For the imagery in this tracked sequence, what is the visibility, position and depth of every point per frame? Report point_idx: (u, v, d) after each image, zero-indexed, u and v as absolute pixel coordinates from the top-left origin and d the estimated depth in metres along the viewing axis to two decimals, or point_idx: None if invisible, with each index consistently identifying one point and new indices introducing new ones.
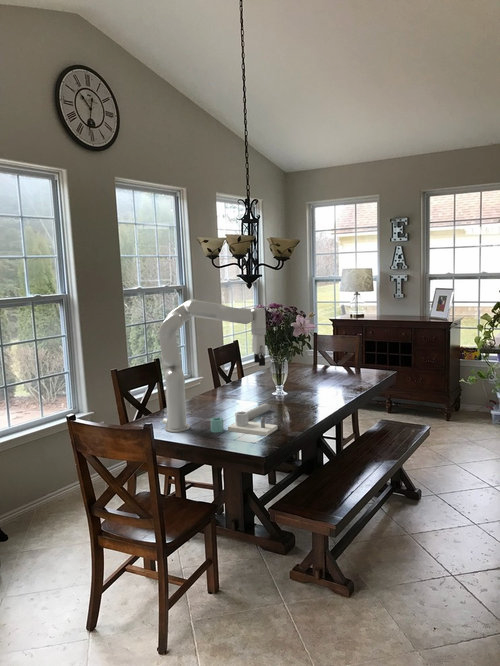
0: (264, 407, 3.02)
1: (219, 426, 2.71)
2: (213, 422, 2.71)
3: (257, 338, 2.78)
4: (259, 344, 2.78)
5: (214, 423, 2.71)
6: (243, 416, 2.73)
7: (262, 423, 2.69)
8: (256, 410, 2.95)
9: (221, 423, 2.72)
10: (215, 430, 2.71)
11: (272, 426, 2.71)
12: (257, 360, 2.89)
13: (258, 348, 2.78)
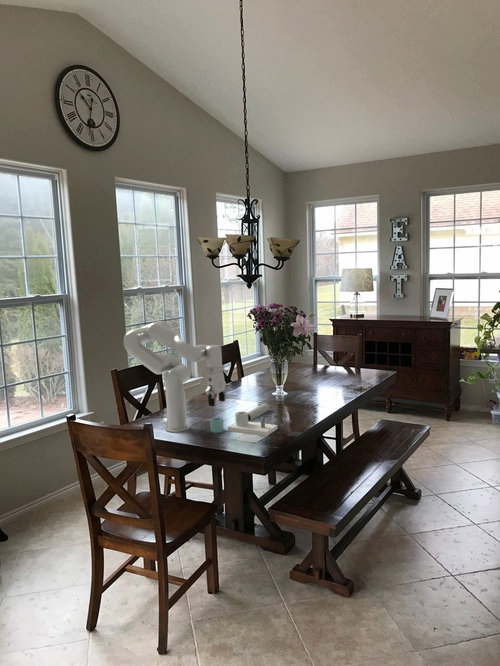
0: (264, 407, 3.02)
1: (219, 426, 2.71)
2: (213, 422, 2.71)
3: None
4: None
5: (214, 423, 2.71)
6: (243, 416, 2.73)
7: (262, 423, 2.69)
8: (257, 410, 2.94)
9: (221, 423, 2.72)
10: (215, 430, 2.71)
11: (272, 426, 2.71)
12: None
13: None
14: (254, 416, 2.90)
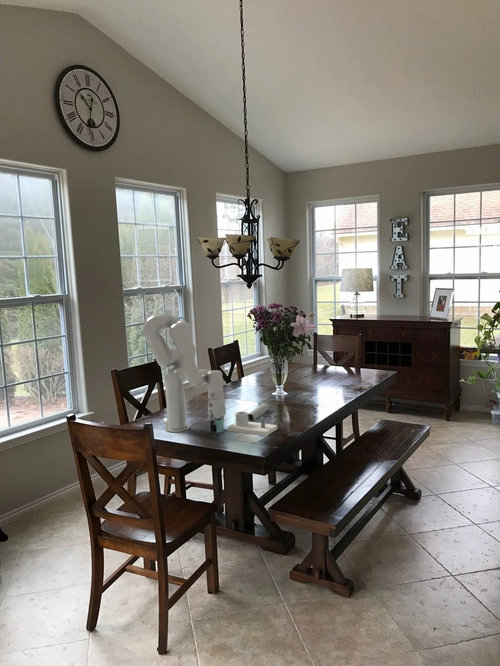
0: (264, 407, 3.02)
1: (219, 426, 2.71)
2: None
3: None
4: None
5: None
6: (243, 416, 2.73)
7: (262, 423, 2.69)
8: (258, 410, 2.94)
9: (221, 423, 2.72)
10: None
11: (272, 426, 2.71)
12: None
13: None
14: (256, 416, 2.89)
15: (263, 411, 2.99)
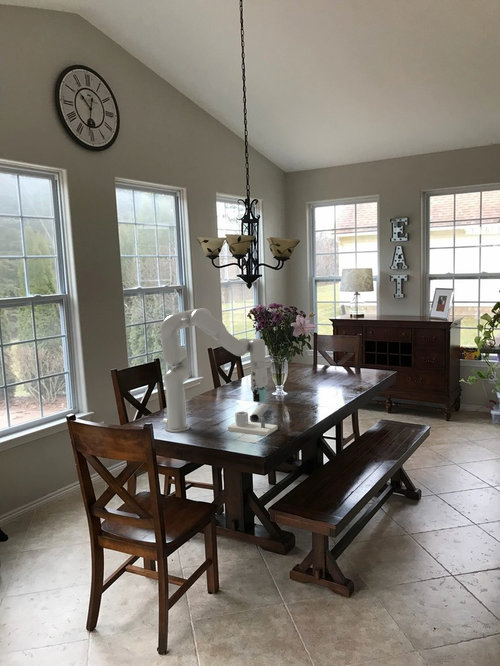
0: (264, 407, 3.02)
1: (262, 395, 2.66)
2: None
3: None
4: None
5: None
6: (243, 416, 2.73)
7: (262, 423, 2.69)
8: (261, 410, 2.94)
9: (264, 392, 2.66)
10: None
11: (272, 426, 2.71)
12: None
13: None
14: (260, 416, 2.89)
15: (264, 411, 2.99)
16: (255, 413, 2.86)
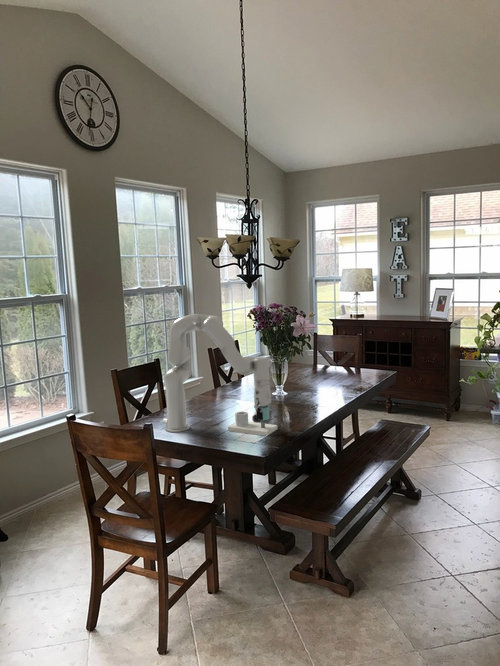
0: None
1: (265, 414, 2.67)
2: None
3: None
4: None
5: None
6: (243, 416, 2.73)
7: (262, 423, 2.69)
8: None
9: (267, 411, 2.67)
10: None
11: (272, 426, 2.71)
12: None
13: None
14: None
15: None
16: None
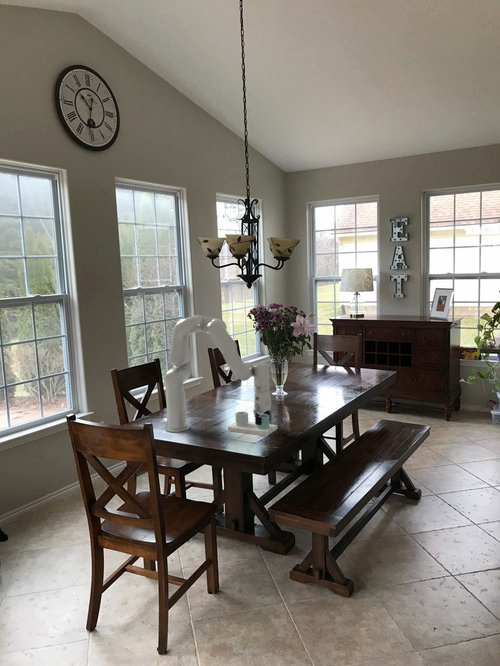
0: None
1: (265, 423, 2.67)
2: None
3: None
4: None
5: None
6: (243, 416, 2.73)
7: None
8: None
9: (267, 420, 2.68)
10: (261, 427, 2.67)
11: (272, 426, 2.71)
12: None
13: None
14: None
15: None
16: None
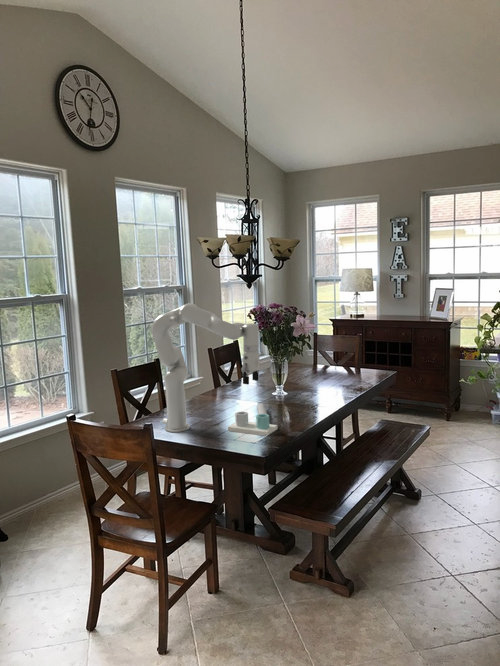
0: (264, 407, 3.03)
1: (265, 423, 2.67)
2: (259, 419, 2.67)
3: None
4: None
5: (260, 420, 2.67)
6: (243, 416, 2.73)
7: None
8: (265, 410, 2.94)
9: (267, 420, 2.68)
10: (261, 427, 2.67)
11: (272, 426, 2.71)
12: None
13: None
14: None
15: None
16: (263, 413, 2.86)
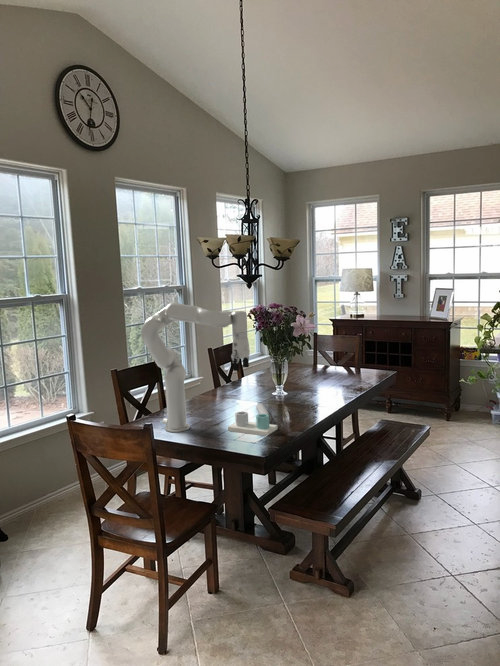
0: None
1: (265, 423, 2.67)
2: (259, 419, 2.67)
3: None
4: None
5: (260, 420, 2.67)
6: (243, 416, 2.73)
7: None
8: (266, 410, 2.94)
9: (267, 420, 2.68)
10: (261, 427, 2.67)
11: (272, 426, 2.71)
12: None
13: None
14: (269, 416, 2.89)
15: None
16: (266, 413, 2.86)
